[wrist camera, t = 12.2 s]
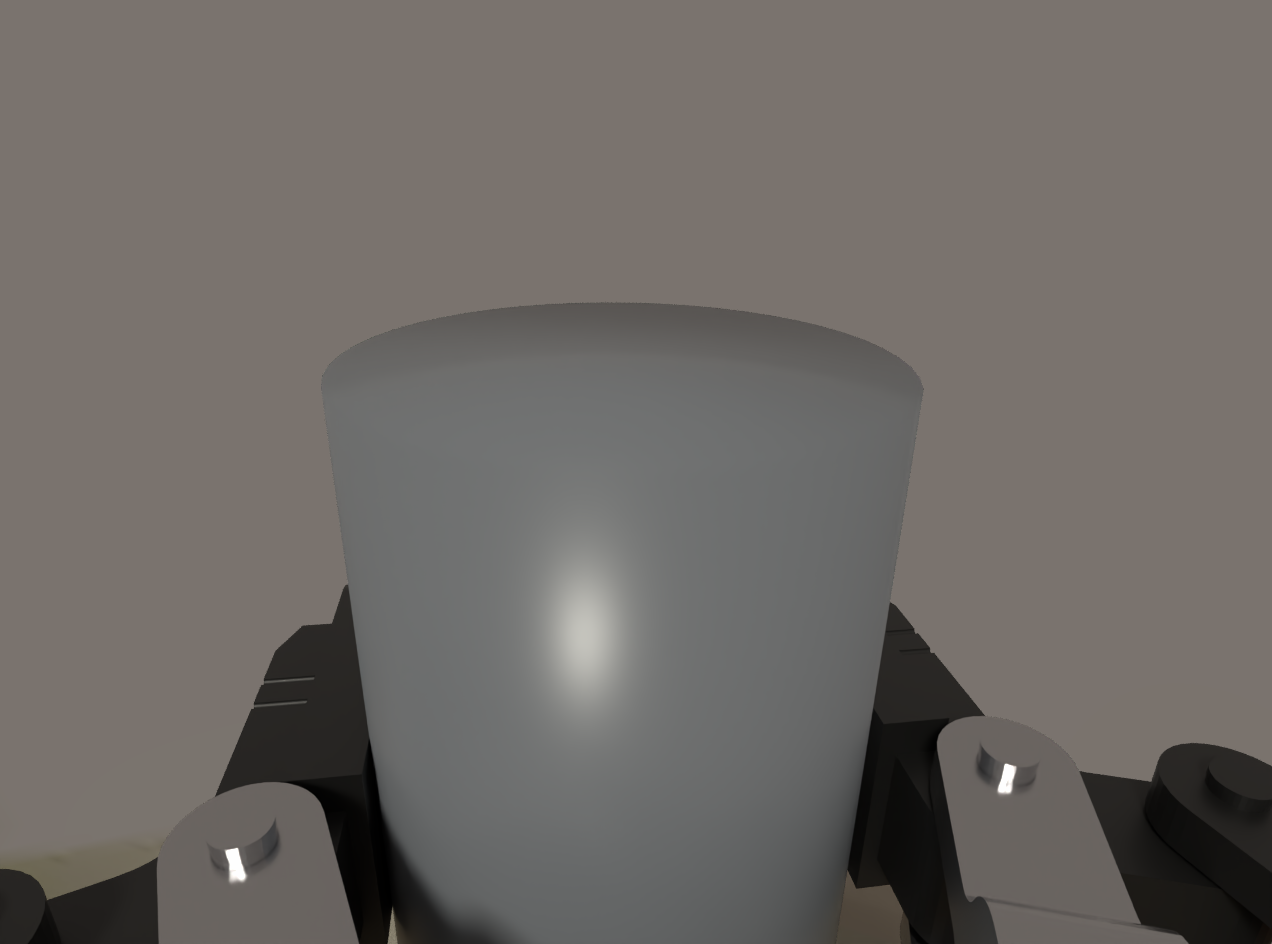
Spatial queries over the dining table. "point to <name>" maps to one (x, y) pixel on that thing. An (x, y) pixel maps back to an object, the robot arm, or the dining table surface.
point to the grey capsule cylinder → (619, 614)
